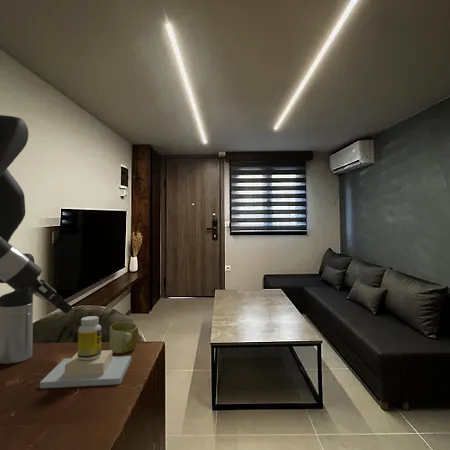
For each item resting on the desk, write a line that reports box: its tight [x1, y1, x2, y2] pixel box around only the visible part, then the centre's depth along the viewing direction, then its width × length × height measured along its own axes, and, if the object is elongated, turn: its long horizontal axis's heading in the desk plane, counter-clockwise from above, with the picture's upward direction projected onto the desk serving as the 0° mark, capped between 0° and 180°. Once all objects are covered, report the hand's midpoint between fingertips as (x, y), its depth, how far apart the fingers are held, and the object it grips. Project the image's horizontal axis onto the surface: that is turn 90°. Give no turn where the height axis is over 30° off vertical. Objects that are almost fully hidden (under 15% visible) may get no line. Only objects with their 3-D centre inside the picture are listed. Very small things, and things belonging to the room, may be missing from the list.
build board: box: [39, 349, 132, 389], centre depth 92 cm, size 20×16×4 cm
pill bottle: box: [77, 315, 102, 361], centre depth 92 cm, size 6×6×11 cm
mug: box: [108, 321, 139, 354], centre depth 110 cm, size 12×10×10 cm
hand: (64, 307), depth 88 cm, fingers open, 8 cm apart
